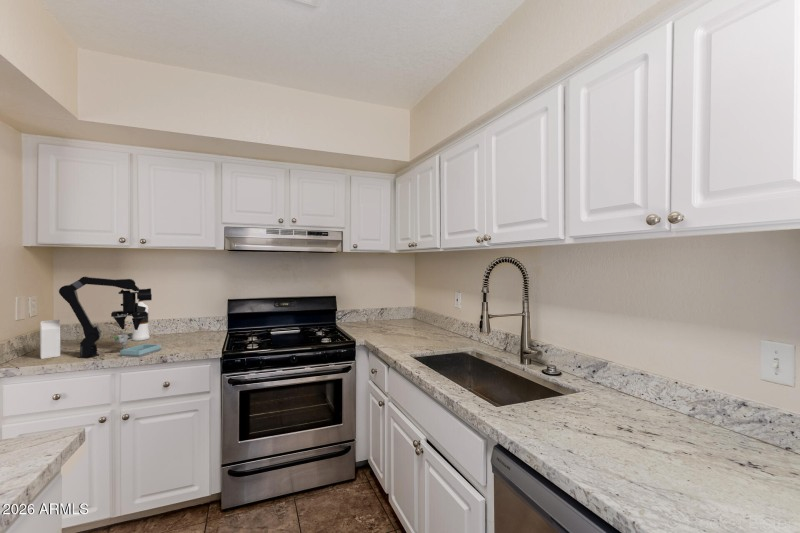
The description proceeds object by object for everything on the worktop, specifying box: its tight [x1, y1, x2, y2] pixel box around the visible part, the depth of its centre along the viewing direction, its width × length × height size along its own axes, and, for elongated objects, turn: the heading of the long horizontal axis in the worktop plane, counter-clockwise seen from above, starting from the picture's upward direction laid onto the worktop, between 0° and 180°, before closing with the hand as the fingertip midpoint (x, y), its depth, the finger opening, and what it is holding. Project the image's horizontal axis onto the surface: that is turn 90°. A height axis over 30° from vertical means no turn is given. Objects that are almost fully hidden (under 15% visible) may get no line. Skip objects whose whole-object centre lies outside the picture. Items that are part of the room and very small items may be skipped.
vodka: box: [131, 299, 150, 342], centre depth 230 cm, size 9×9×30 cm
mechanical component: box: [113, 332, 133, 350], centre depth 197 cm, size 3×10×10 cm, turn 174°
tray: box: [119, 343, 162, 358], centre depth 196 cm, size 11×15×3 cm
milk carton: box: [39, 319, 61, 360], centre depth 187 cm, size 7×7×19 cm
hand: (129, 329), depth 198 cm, fingers open, 9 cm apart
